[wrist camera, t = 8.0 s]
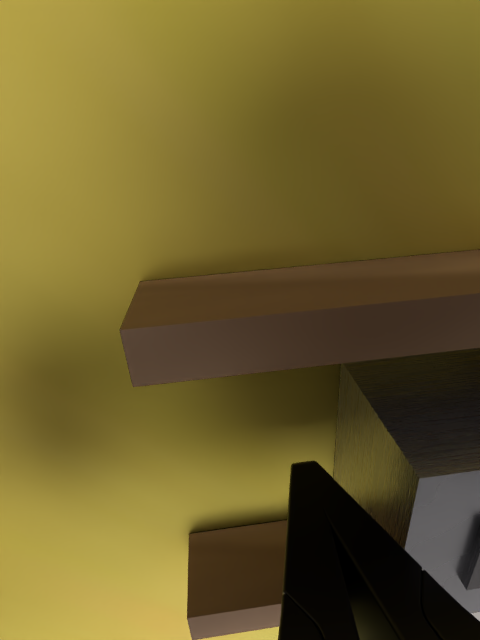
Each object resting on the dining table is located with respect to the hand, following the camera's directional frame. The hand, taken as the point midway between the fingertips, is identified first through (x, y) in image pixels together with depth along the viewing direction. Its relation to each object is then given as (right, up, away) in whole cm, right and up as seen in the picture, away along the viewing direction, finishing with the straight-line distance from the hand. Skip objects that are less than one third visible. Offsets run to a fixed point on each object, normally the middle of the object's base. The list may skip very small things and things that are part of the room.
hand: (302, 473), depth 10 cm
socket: (+4, +1, +2) cm, 4 cm away
